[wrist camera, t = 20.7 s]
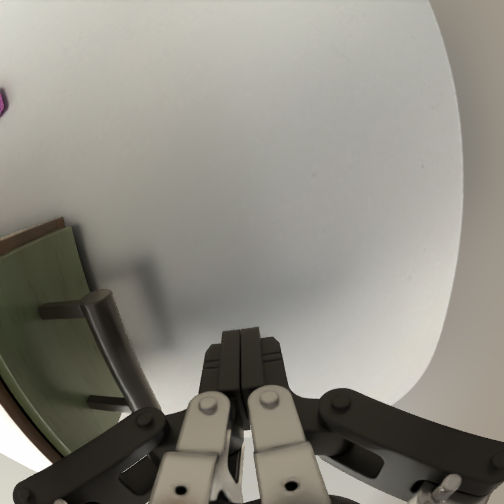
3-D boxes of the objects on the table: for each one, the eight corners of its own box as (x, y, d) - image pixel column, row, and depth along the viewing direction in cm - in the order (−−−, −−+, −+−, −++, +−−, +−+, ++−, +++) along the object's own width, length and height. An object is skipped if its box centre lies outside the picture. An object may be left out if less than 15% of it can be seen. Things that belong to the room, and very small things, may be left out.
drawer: (134, 210, 13) (31, 260, 5) (187, 387, 16) (168, 490, 8) (-32, 258, 13) (-93, 294, 5) (17, 374, 16) (-22, 426, 8)
